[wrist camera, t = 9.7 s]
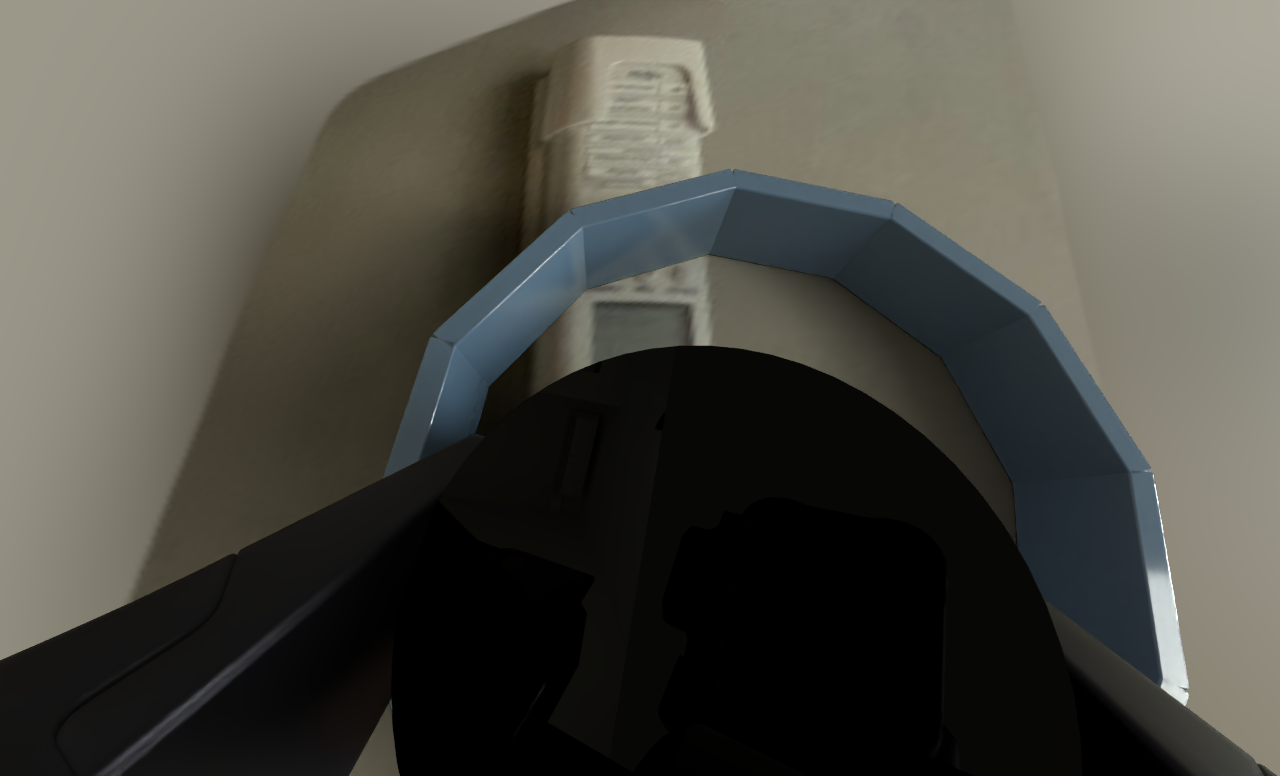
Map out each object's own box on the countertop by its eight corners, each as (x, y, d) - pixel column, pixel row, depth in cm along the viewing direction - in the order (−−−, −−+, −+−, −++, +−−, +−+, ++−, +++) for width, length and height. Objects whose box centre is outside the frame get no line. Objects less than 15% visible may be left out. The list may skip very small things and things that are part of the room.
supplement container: (716, 719, 13) (636, 1349, 3) (583, 533, 16) (301, 593, 6) (888, 569, 13) (1311, 778, 3) (731, 403, 15) (707, 234, 6)
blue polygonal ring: (1072, 951, 13) (1265, 1127, 9) (332, 835, 13) (214, 972, 9) (1015, 298, 19) (1116, 244, 16) (522, 201, 19) (501, 120, 15)
